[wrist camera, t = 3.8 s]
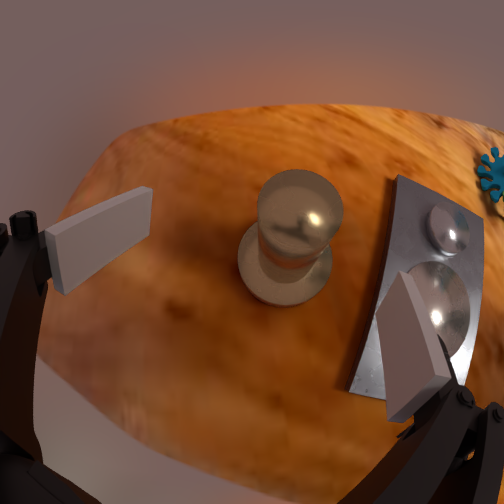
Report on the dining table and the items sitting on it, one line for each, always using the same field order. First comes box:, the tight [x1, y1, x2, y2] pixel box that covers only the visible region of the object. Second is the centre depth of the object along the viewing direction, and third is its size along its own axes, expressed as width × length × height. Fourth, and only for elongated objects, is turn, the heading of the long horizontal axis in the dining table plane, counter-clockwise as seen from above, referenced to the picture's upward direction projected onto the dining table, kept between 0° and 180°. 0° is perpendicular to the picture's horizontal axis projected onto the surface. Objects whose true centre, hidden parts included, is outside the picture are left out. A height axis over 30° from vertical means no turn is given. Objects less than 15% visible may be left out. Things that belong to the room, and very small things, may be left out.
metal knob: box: [238, 169, 343, 308], centre depth 17 cm, size 7×7×10 cm
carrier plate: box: [345, 174, 484, 400], centre depth 19 cm, size 12×20×2 cm, turn 159°
